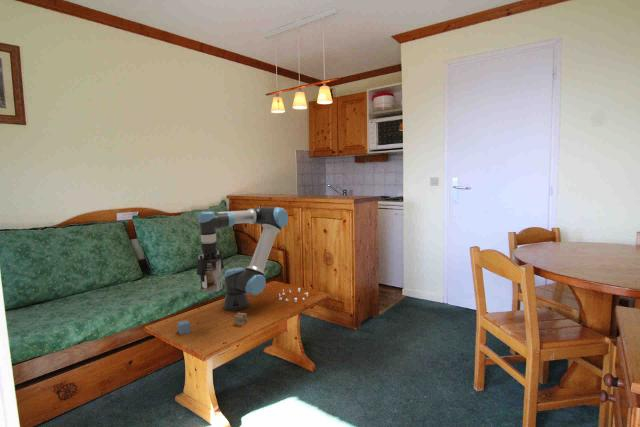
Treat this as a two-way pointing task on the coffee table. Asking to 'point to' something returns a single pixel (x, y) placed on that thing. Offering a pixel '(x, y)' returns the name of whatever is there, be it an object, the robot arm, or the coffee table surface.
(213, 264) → the coffee box
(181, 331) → the slate block
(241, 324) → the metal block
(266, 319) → the coffee table surface
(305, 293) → the game piece set
